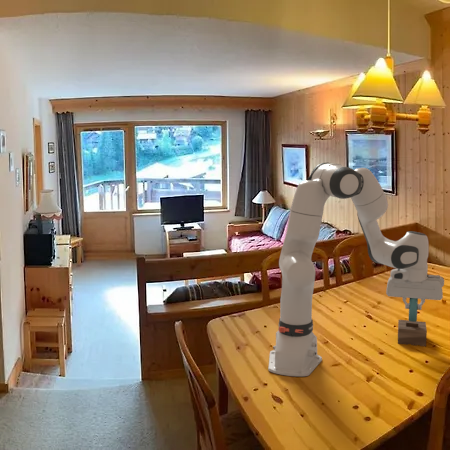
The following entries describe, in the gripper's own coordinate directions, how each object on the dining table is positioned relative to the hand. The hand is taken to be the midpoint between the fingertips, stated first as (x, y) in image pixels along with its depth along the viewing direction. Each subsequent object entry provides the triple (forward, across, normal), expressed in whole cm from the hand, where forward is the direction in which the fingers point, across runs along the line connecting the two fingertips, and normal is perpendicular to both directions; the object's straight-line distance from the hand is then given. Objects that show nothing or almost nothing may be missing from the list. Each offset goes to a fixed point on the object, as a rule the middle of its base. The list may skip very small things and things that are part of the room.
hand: (413, 308), depth 203 cm
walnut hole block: (+13, 0, 0) cm, 13 cm away
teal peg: (+5, 0, 0) cm, 5 cm away
